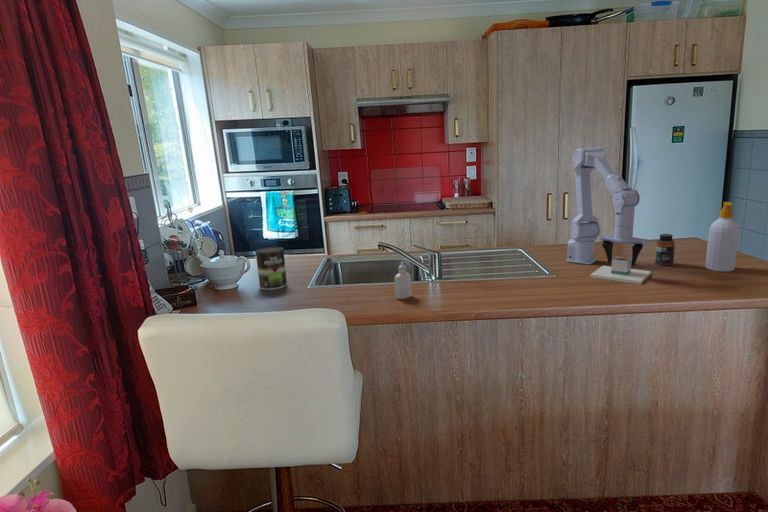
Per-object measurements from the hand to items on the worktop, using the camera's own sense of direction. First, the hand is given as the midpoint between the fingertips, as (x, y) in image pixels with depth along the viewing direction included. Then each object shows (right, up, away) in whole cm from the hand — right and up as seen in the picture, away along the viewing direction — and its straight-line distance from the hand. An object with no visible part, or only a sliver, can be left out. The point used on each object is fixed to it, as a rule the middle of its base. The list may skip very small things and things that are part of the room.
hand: (621, 263), depth 163 cm
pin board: (0, -4, +1) cm, 4 cm away
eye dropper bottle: (-77, -11, -9) cm, 78 cm away
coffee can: (-125, -9, +12) cm, 126 cm away
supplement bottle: (+22, -1, +12) cm, 25 cm away
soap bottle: (+36, -2, +2) cm, 36 cm away
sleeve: (0, -3, +1) cm, 4 cm away
